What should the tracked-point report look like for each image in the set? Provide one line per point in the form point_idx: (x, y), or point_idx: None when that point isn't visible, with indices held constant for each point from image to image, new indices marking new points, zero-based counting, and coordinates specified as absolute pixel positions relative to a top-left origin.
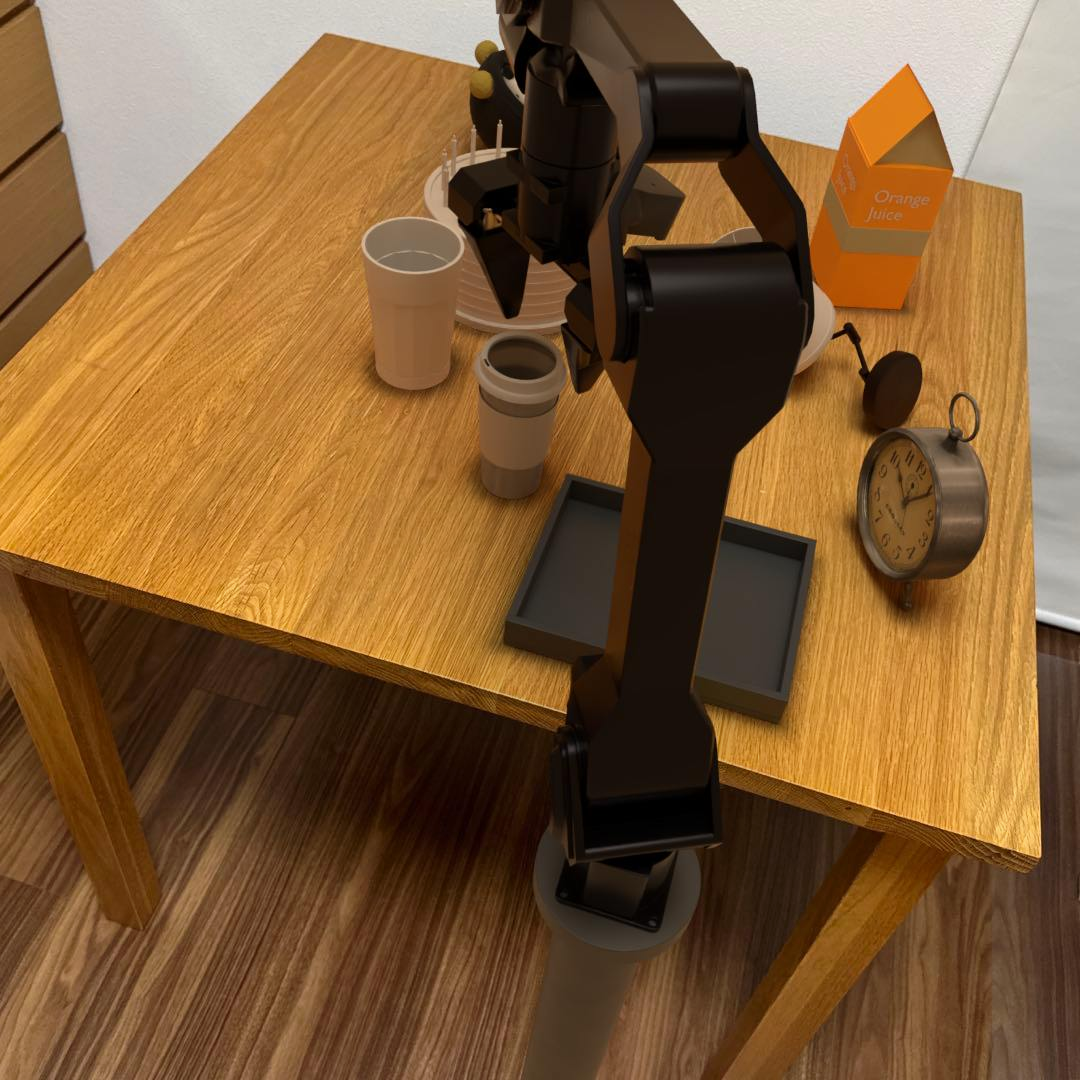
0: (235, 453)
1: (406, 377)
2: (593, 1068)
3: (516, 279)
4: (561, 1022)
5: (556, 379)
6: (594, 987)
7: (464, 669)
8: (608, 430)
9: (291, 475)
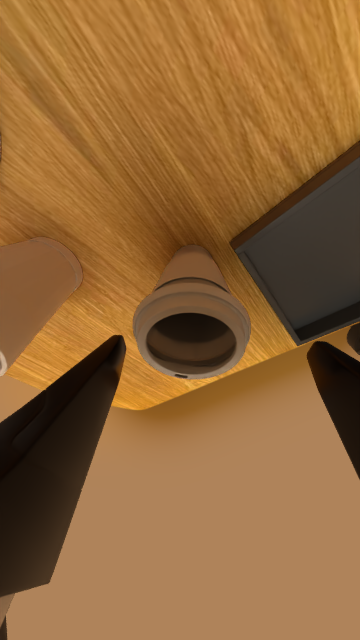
0: None
1: (75, 287)
2: None
3: (90, 400)
4: None
5: (243, 329)
6: None
7: (284, 349)
8: (181, 132)
9: (138, 354)
